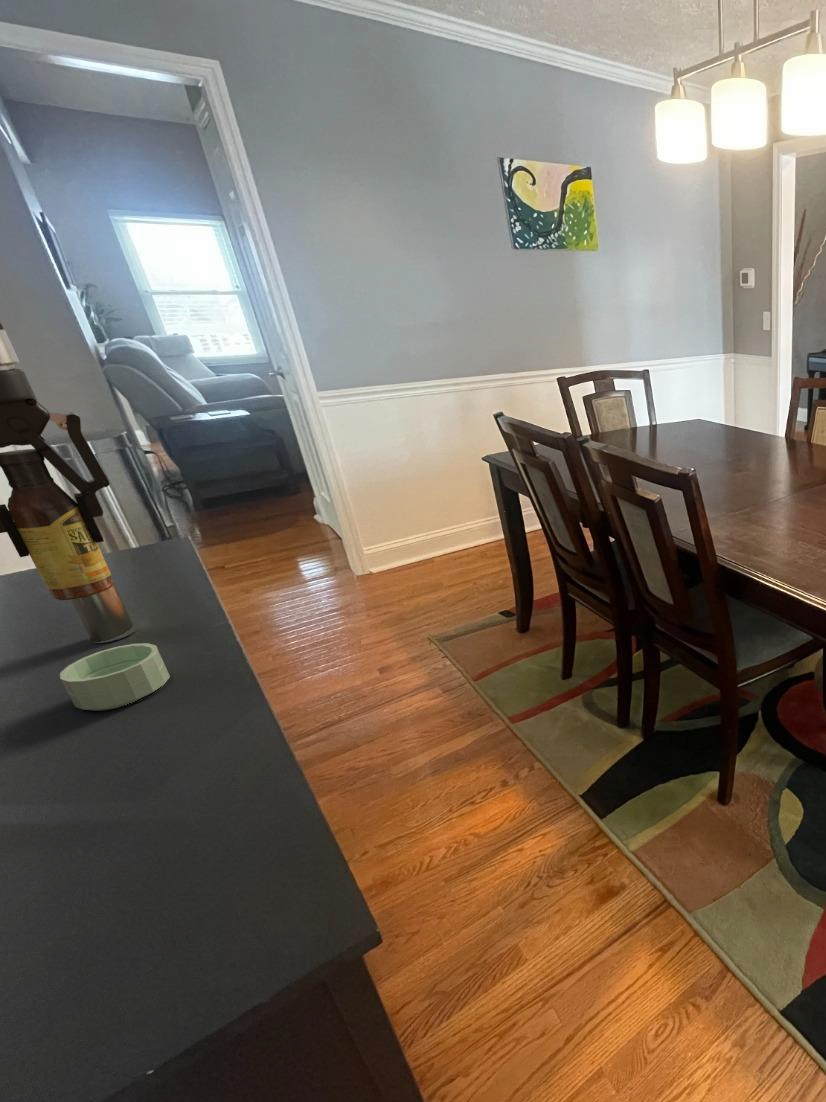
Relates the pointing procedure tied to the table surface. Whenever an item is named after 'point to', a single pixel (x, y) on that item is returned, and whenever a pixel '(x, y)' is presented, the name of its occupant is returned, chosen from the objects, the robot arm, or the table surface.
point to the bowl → (115, 676)
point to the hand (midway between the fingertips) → (63, 546)
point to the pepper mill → (103, 615)
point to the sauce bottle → (53, 529)
